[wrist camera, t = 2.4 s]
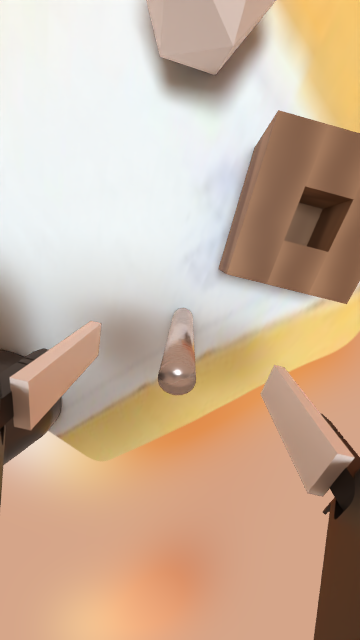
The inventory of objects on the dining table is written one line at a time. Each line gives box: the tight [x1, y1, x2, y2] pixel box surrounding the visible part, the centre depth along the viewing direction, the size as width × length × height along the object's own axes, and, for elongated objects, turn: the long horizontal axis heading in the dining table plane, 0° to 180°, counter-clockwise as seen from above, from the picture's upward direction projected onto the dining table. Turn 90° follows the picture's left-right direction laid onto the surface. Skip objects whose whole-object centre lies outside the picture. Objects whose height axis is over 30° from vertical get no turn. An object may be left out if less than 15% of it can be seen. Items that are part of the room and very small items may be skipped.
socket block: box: [219, 110, 360, 304], centre depth 17 cm, size 11×11×5 cm
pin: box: [158, 308, 196, 395], centre depth 18 cm, size 2×2×12 cm
